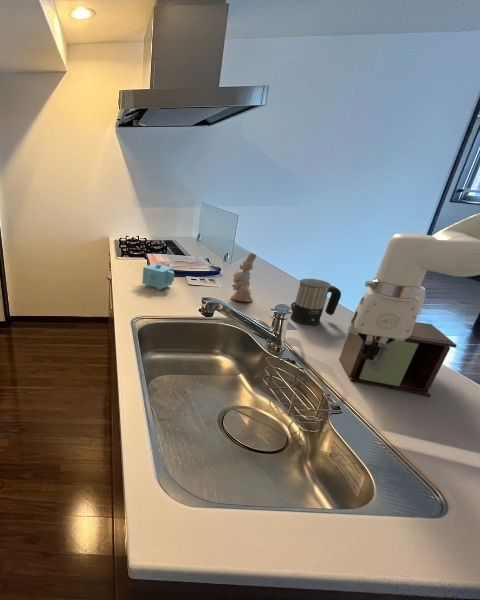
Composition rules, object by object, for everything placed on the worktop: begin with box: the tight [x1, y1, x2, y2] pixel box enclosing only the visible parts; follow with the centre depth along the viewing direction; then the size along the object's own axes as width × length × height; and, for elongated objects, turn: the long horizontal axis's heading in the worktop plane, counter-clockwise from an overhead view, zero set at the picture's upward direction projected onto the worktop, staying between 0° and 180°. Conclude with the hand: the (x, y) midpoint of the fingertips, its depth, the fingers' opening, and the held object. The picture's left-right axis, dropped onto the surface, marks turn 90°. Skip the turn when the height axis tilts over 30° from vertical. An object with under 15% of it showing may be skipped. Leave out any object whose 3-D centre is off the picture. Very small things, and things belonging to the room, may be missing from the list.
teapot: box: [141, 262, 176, 291], centre depth 151 cm, size 16×18×11 cm
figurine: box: [230, 252, 257, 303], centre depth 133 cm, size 9×8×20 cm
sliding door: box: [359, 336, 418, 386], centre depth 79 cm, size 8×4×13 cm, turn 66°
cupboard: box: [338, 321, 457, 398], centre depth 84 cm, size 16×11×15 cm
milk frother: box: [289, 278, 342, 326], centre depth 119 cm, size 14×16×15 cm
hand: (366, 356), depth 79 cm, fingers closed
